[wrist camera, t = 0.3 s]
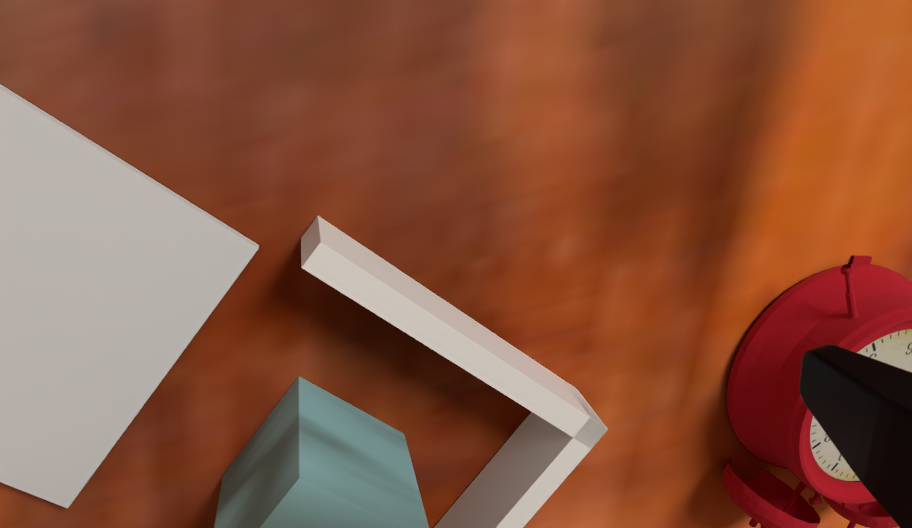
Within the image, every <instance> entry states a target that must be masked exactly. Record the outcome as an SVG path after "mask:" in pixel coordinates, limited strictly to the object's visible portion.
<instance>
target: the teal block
mask: <svg viewBox="0 0 912 528" xmlns="http://www.w3.org/2000/svg"><path fill="white" fill-rule="evenodd" d="M214 528H429V526H428V522H427V518H426V515H425V511H424V507H423V503H422V500H421V496H420V492H419V488H418V484H417V481H416V477H415V473H414V469H413V466H412V462H411V458H410V454H409V450H408V447H407V443H406V439H405V435H404V434H403V433H402V432H400V431H398V430H396V429H394V428H392V427H391V426H389V425H387V424H385V423H383V422H382V421H380V420H378V419H376V418H374V417H372V416H371V415H369V414H367V413H365V412H363V411H361V410H360V409H358V408H356V407H354V406H352V405H350V404H349V403H347V402H345V401H343V400H341V399H340V398H338V397H336V396H334V395H332V394H330V393H329V392H327V391H325V390H323V389H321V388H319V387H318V386H316V385H314V384H312V383H310V382H308V381H307V380H305V379H303V378H301V377H298V378H297V379H296V380H295V382H294V383H293V384H292V386H291V387H290V388H289V390H288V391H287V392H286V393H285V395H284V396H283V397H282V399H281V400H280V401H279V403H278V404H277V405H276V406H275V408H274V409H273V410H272V412H271V413H270V414H269V415H268V417H267V418H266V419H265V421H264V422H263V423H262V425H261V426H260V427H259V428H258V430H257V431H256V432H255V434H254V435H253V436H252V438H251V439H250V440H249V441H248V443H247V444H246V445H245V447H244V448H243V449H242V450H241V452H240V453H239V454H238V456H237V457H236V458H235V460H234V461H233V462H232V463H231V465H230V466H229V467H228V469H227V470H226V471H225V473H224V474H223V477H222V483H221V489H220V495H219V501H218V507H217V514H216V520H215V526H214Z"/></svg>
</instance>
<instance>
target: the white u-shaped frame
mask: <svg viewBox="0 0 912 528" xmlns="http://www.w3.org/2000/svg"><path fill="white" fill-rule="evenodd" d="M301 268H303V269H304V270H306V271H307V272H309V273H311V274H312V275H314V276H315V277H317V278H319V279H320V280H322V281H323V282H325V283H327V284H328V285H330V286H331V287H333V288H335V289H336V290H338V291H339V292H341V293H343V294H344V295H346V296H347V297H349V298H351V299H352V300H354V301H355V302H357V303H359V304H360V305H362V306H363V307H365V308H367V309H368V310H370V311H371V312H373V313H375V314H376V315H378V316H379V317H381V318H383V319H384V320H386V321H387V322H389V323H391V324H392V325H394V326H395V327H397V328H399V329H400V330H402V331H403V332H405V333H407V334H408V335H410V336H411V337H413V338H415V339H416V340H418V341H419V342H421V343H423V344H424V345H426V346H427V347H429V348H431V349H432V350H434V351H435V352H437V353H439V354H440V355H442V356H443V357H445V358H447V359H448V360H450V361H451V362H453V363H455V364H456V365H458V366H459V367H461V368H463V369H464V370H466V371H467V372H469V373H471V374H472V375H474V376H475V377H477V378H479V379H480V380H482V381H483V382H485V383H487V384H488V385H490V386H491V387H493V388H495V389H496V390H498V391H499V392H501V393H503V394H504V395H506V396H507V397H509V398H511V399H512V400H514V401H515V402H517V403H519V404H520V405H522V406H523V407H525V408H527V409H528V410H530V411H531V413H530V414H529V415H528V416H527V418H526V419H525V420H524V421H523V422H522V424H521V425H520V426H519V427H518V428H517V429H516V431H515V432H514V433H513V434H512V435H511V437H510V438H509V439H508V440H507V441H506V443H505V444H504V445H503V446H502V447H501V448H500V450H499V451H498V452H497V453H496V454H495V456H494V457H493V458H492V459H491V460H490V462H489V463H488V464H487V465H486V466H485V467H484V469H483V470H482V471H481V472H480V473H479V475H478V476H477V477H476V478H475V479H474V481H473V482H472V483H471V484H470V485H469V486H468V488H467V489H466V490H465V491H464V492H463V494H462V495H461V496H460V497H459V498H458V499H457V501H456V502H455V503H454V504H453V505H452V507H451V508H450V509H449V510H448V511H447V513H446V514H445V515H444V516H443V517H442V518H441V520H440V521H439V522H438V523H437V524H436V526H435V527H434V528H523V527H524V526H525V525H526V524H527V522H528V521H529V520H530V519H531V518H532V517H533V515H534V514H535V513H536V512H537V511H538V510H539V509H540V507H541V506H542V505H543V504H544V503H545V502H546V500H547V499H548V498H549V497H550V496H551V495H552V494H553V492H554V491H555V490H556V489H557V488H558V487H559V486H560V484H561V483H562V482H563V481H564V480H565V479H566V477H567V476H568V475H569V474H570V473H571V472H572V471H573V469H574V468H575V467H576V466H577V465H578V464H579V462H580V461H581V460H582V459H583V458H584V457H585V456H586V454H587V453H588V452H589V451H590V450H591V449H592V448H593V446H594V445H595V444H596V443H597V442H598V441H599V439H600V438H601V437H602V436H603V435H604V434H605V433H606V431H607V430H608V428H607V427H606V426H605V424H604V423H603V422H602V421H601V419H600V418H599V417H598V415H597V414H596V413H595V412H594V410H593V409H592V408H591V406H590V405H589V404H588V403H587V401H586V400H585V399H584V397H583V396H582V395H581V394H580V392H579V391H578V390H577V389H576V388H575V387H573V386H572V385H570V384H569V383H567V382H566V381H564V380H563V379H561V378H560V377H558V376H557V375H555V374H554V373H552V372H551V371H549V370H548V369H546V368H545V367H544V366H542V365H541V364H539V363H538V362H536V361H535V360H533V359H532V358H530V357H529V356H527V355H526V354H524V353H523V352H521V351H520V350H518V349H517V348H515V347H514V346H512V345H511V344H509V343H508V342H506V341H505V340H503V339H502V338H500V337H499V336H497V335H496V334H494V333H493V332H491V331H490V330H488V329H487V328H485V327H484V326H482V325H481V324H479V323H478V322H476V321H475V320H473V319H472V318H470V317H469V316H467V315H466V314H464V313H463V312H461V311H460V310H458V309H457V308H455V307H454V306H452V305H451V304H449V303H448V302H446V301H445V300H443V299H442V298H440V297H439V296H437V295H436V294H434V293H433V292H431V291H430V290H428V289H427V288H425V287H424V286H422V285H421V284H419V283H418V282H416V281H415V280H413V279H412V278H411V277H409V276H408V275H406V274H405V273H403V272H402V271H400V270H399V269H397V268H396V267H394V266H393V265H391V264H390V263H388V262H387V261H385V260H384V259H382V258H381V257H379V256H378V255H376V254H375V253H373V252H372V251H370V250H369V249H367V248H366V247H364V246H363V245H361V244H360V243H358V242H357V241H355V240H354V239H352V238H351V237H349V236H348V235H346V234H345V233H343V232H342V231H340V230H339V229H337V228H336V227H334V226H333V225H331V224H330V223H328V222H327V221H325V220H324V219H322V218H321V217H319V216H317V217H316V219H315V220H314V221H313V223H312V224H311V225H310V227H309V228H308V229H307V231H306V232H305V233H304V235H303V236H302V237H301Z"/></svg>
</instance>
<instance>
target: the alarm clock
mask: <svg viewBox="0 0 912 528" xmlns="http://www.w3.org/2000/svg"><path fill="white" fill-rule="evenodd" d="M852 256H853V257H854V259H853V263H852V264H845V265H843V266H838V267H834V268H831V269H827V270H825V271H822V272H819V273H817V274H815V275H813V276H811V277H809V278H807V279H805V280H803V281H802V282H800V283H798V284H797V285H795V286H794V287H792V288H791V289H789V290H788V291H787V292H785V293H784V294H783V295H781V296H780V297H779V298H778V299H777V300H776V301H775V302H774V303H773V304H772V305H771V306H770V307H769V308H768V309H767V310H766V311H765V312H764V313H763V314H762V315H761V317H760V318H759V319H758V320H757V321H756V323H755V324H754V325H753V327H752V328H751V329H750V331H749V332H748V334H747V336H746V337H745V339H744V341H743V343H742V345H741V346H740V348H739V350H738V353H737V355H736V357H735V360H734V363H733V365H732V368H731V372H730V376H729V381H728V386H727V409H728V415H729V419H730V423H731V426H732V428H733V430H734V432H735V434H736V436H737V437H738V439H739V440H740V442H741V443H742V444H743V445H744V446H745V447H746V448H747V449H748V450H749V451H750V452H751V453H752V454H754V455H755V456H756V457H757V458H759V459H761V460H762V461H764V462H767V463H769V464H772V465H774V466H778V467H781V468H785V469H789V470H791V471H792V472H793V473H794V474H795V475H796V476H797V477H798V478H799V479H800V480H801V482H800V484H799V485H798V487H797V488H796V489H795V491H794V490H793V489H792V488H790V487H789V486H788V485H787V484H785V483H784V482H782V481H781V480H779V479H778V478H776V477H775V476H773V475H772V474H770V473H769V472H767V471H765V470H763V469H761V471H760V473H759V475H758V476H756V477H755V478H754V479H753V480H748V481H741V480H740V478H739V477H738V476H737V475H736V474H735V473H734V472H733V471H732V469H731V467H730V465H729V462H730V461H729V462H728V463H727V465H726V466H725V468H724V470H723V473H722V474H723V484H724V487H725V489H726V491H727V492H728V494H729V495H730V497H731V499H732V500H733V501H734V502H735V503H736V504H737V505H738V506H739V507H740V508H741V509H742V510H743V511H744V512H745V513H746V514H747V515H749V516H750V517H751V518H752V519H751V520H750V522H749V525H750V526H752V527H756V525H757V523H758V522H759V523H760V524H761V528H816V527H817V526H818V525H819V523H820V517H819V515H818V514H817V513H816V511H815V510H814V508H813V507H812V506H811V505H810V504H812V505H815V504H821V502H822V501H821V498H820V494H821V495H822V496H823V498H824V499H825V501H826V502H827V503H828V504H829V505H830V506H831V507H832V508H833V509H834V510H835V511H836V512H837V513H838V514H840V515H841V516H842V517H844V518H846V519H847V520H849V521H850V523H849V525H848V526H847V528H854V527H855V525H856V523H857V524H859V525H862V526H865V527H870V528H893V527H897V526H898V524H897V523H896V522H895V521H894V520H893V519H892V518H891V516H890V515H889V514H888V513H887V512H886V511H885V510H884V508H883V507H882V506H881V505H880V504H879V503H878V502H877V500H876V499H875V498H874V497H873V496H872V495H871V493H870V492H869V491H868V490H867V489H866V487H865V486H864V485H863V484H862V482H861V481H860V480H859V479H858V477H857V476H856V475H855V473H854V472H853V471H852V469H851V468H850V466H849V465H848V464H847V462H846V461H845V459H844V458H843V457H842V455H841V454H840V452H839V451H838V450H837V448H836V447H835V445H834V444H833V443H832V441H831V440H830V438H829V437H828V436H827V434H826V433H825V431H824V430H823V429H822V427H821V426H820V424H819V423H818V422H817V420H816V419H815V417H814V416H813V415H812V413H811V412H810V410H809V409H808V407H807V406H806V405H805V403H804V402H803V400H802V398H801V395H800V390H799V383H800V374H801V365H802V357H803V355H804V353H805V352H806V351H808V350H810V349H813V348H816V347H819V346H822V345H826V344H832V345H836V346H839V347H842V348H845V349H848V350H851V351H853V352H856V353H859V354H862V355H864V356H867V357H870V358H873V359H876V360H878V361H881V362H884V363H887V364H890V365H892V366H895V367H898V368H901V369H904V370H906V371H909V372H912V282H911V281H910V280H908V279H907V278H906V277H904V276H902V275H900V274H899V273H896V272H894V271H892V270H889V269H887V268H884V267H881V266H877V265H871V264H870V262H871V259H872V257H870V256H854V255H852ZM805 486H807V487H809V488H810V489H811V490H813V491H815V492H816V493H815V496H814V498H809V503H810V504H809V503H808V502H807V501H806V500H805V499H803V498H802V497H801V496H800V495H799V494H800V493H801V492H802V490H803V489H804V488H805Z"/></svg>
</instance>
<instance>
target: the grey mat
mask: <svg viewBox="0 0 912 528" xmlns="http://www.w3.org/2000/svg"><path fill="white" fill-rule="evenodd" d="M258 248H259V245H258V244H256V243H255V242H253V241H251V240H250V239H248V238H247V237H245V236H243V235H242V234H240V233H239V232H237V231H235V230H234V229H232V228H231V227H229V226H227V225H226V224H224V223H223V222H221V221H219V220H218V219H216V218H215V217H213V216H211V215H210V214H208V213H206V212H205V211H203V210H202V209H200V208H198V207H197V206H195V205H194V204H192V203H190V202H189V201H187V200H186V199H184V198H182V197H181V196H179V195H178V194H176V193H174V192H173V191H171V190H170V189H168V188H166V187H165V186H163V185H161V184H160V183H158V182H157V181H155V180H153V179H152V178H150V177H149V176H147V175H145V174H144V173H142V172H141V171H139V170H137V169H136V168H134V167H133V166H131V165H129V164H128V163H126V162H125V161H123V160H121V159H120V158H118V157H116V156H115V155H113V154H112V153H110V152H108V151H107V150H105V149H104V148H102V147H100V146H99V145H97V144H96V143H94V142H92V141H91V140H89V139H88V138H86V137H84V136H83V135H81V134H80V133H78V132H76V131H75V130H73V129H71V128H70V127H68V126H67V125H65V124H63V123H62V122H60V121H59V120H57V119H55V118H54V117H52V116H51V115H49V114H47V113H46V112H44V111H43V110H41V109H39V108H38V107H36V106H35V105H33V104H31V103H30V102H28V101H26V100H25V99H23V98H22V97H20V96H18V95H17V94H15V93H14V92H12V91H10V90H9V89H7V88H6V87H4V86H2V85H1V84H0V482H1V483H4V484H6V485H9V486H11V487H14V488H16V489H19V490H22V491H24V492H27V493H29V494H32V495H34V496H37V497H39V498H42V499H44V500H47V501H50V502H52V503H55V504H57V505H60V506H62V507H65V508H67V509H68V507H69V506H70V505H71V503H72V502H73V501H74V499H75V498H76V496H77V495H78V494H79V492H80V491H81V490H82V488H83V487H84V486H85V484H86V483H87V481H88V480H89V479H90V477H91V476H92V475H93V473H94V472H95V471H96V469H97V468H98V466H99V465H100V464H101V462H102V461H103V460H104V458H105V457H106V456H107V454H108V453H109V452H110V450H111V449H112V447H113V446H114V445H115V443H116V442H117V441H118V439H119V438H120V437H121V435H122V434H123V432H124V431H125V430H126V428H127V427H128V426H129V424H130V423H131V422H132V420H133V419H134V417H135V416H136V415H137V413H138V412H139V411H140V409H141V408H142V407H143V405H144V404H145V402H146V401H147V400H148V398H149V397H150V396H151V394H152V393H153V392H154V390H155V389H156V388H157V386H158V385H159V383H160V382H161V381H162V379H163V378H164V377H165V375H166V374H167V373H168V371H169V370H170V368H171V367H172V366H173V364H174V363H175V362H176V360H177V359H178V358H179V356H180V355H181V353H182V352H183V351H184V349H185V348H186V347H187V345H188V344H189V343H190V341H191V340H192V338H193V337H194V336H195V334H196V333H197V332H198V330H199V329H200V328H201V326H202V325H203V324H204V322H205V321H206V319H207V318H208V317H209V315H210V314H211V313H212V311H213V310H214V309H215V307H216V306H217V304H218V303H219V302H220V300H221V299H222V298H223V296H224V295H225V294H226V292H227V291H228V289H229V288H230V287H231V285H232V284H233V283H234V281H235V280H236V279H237V277H238V276H239V274H240V273H241V272H242V270H243V269H244V268H245V266H246V265H247V264H248V262H249V261H250V260H251V258H252V257H253V255H254V254H255V253H256V251H257V250H258Z"/></svg>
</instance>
